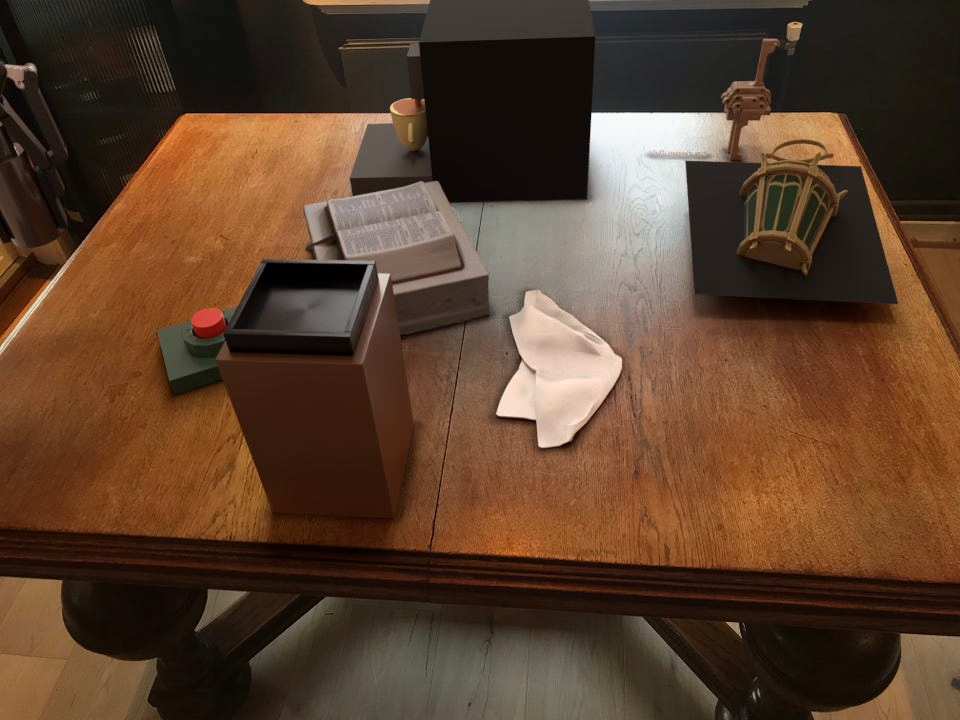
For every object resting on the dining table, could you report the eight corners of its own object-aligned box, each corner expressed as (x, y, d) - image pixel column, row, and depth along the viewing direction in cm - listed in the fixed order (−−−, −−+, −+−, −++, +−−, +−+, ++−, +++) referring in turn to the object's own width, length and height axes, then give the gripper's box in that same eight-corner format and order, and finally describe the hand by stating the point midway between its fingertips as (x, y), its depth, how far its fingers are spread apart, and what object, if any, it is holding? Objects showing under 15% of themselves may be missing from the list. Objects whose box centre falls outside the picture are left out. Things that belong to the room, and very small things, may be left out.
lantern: (679, 329, 98) (674, 160, 113) (863, 348, 97) (832, 176, 113) (709, 261, 86) (698, 84, 102) (918, 282, 85) (875, 101, 101)
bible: (300, 354, 92) (281, 287, 85) (311, 231, 112) (297, 169, 105) (494, 333, 93) (491, 266, 86) (471, 215, 113) (468, 153, 106)
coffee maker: (371, 148, 130) (348, 0, 114) (580, 143, 128) (587, -9, 112) (354, 203, 117) (325, 45, 101) (587, 199, 115) (595, 36, 99)
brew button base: (175, 394, 88) (163, 369, 85) (162, 343, 94) (151, 318, 92) (278, 361, 91) (270, 335, 88) (259, 314, 98) (251, 289, 95)
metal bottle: (14, 253, 85) (-46, 142, 76) (13, 230, 88) (-43, 122, 80) (64, 240, 86) (12, 130, 77) (61, 219, 90) (11, 111, 81)
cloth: (621, 454, 78) (623, 439, 76) (486, 444, 80) (485, 429, 78) (622, 297, 97) (623, 282, 95) (513, 292, 99) (512, 277, 97)
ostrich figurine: (754, 145, 124) (778, 31, 112) (761, 166, 119) (786, 48, 107) (647, 144, 126) (659, 32, 114) (650, 165, 121) (662, 49, 109)
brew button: (198, 342, 89) (193, 331, 87) (192, 325, 91) (188, 313, 90) (229, 333, 90) (225, 321, 88) (223, 315, 92) (219, 304, 91)
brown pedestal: (272, 512, 75) (207, 340, 60) (304, 421, 84) (255, 252, 69) (394, 519, 73) (358, 345, 59) (414, 426, 82) (387, 254, 67)
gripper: (33, -15, 76) (117, 194, 92) (-180, 20, 71) (-53, 235, 87) (35, 6, 71) (123, 224, 87) (-194, 45, 66) (-56, 269, 81)
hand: (35, 229), depth 87 cm, fingers closed on metal bottle, 5 cm apart
